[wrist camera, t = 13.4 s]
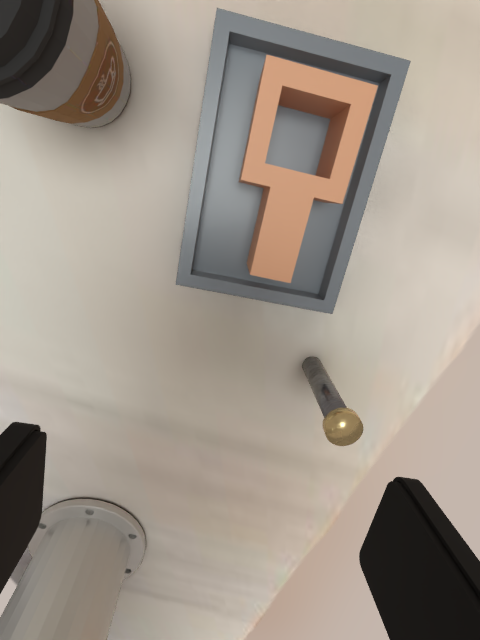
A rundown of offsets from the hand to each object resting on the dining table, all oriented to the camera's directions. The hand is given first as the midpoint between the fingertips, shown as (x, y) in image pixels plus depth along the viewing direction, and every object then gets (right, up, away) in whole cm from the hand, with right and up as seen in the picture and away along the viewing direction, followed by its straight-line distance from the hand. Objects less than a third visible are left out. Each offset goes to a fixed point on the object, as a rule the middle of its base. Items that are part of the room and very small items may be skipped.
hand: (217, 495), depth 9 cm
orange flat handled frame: (+4, +15, +18) cm, 24 cm away
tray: (+4, +16, +18) cm, 24 cm away
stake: (+7, 0, +24) cm, 25 cm away
